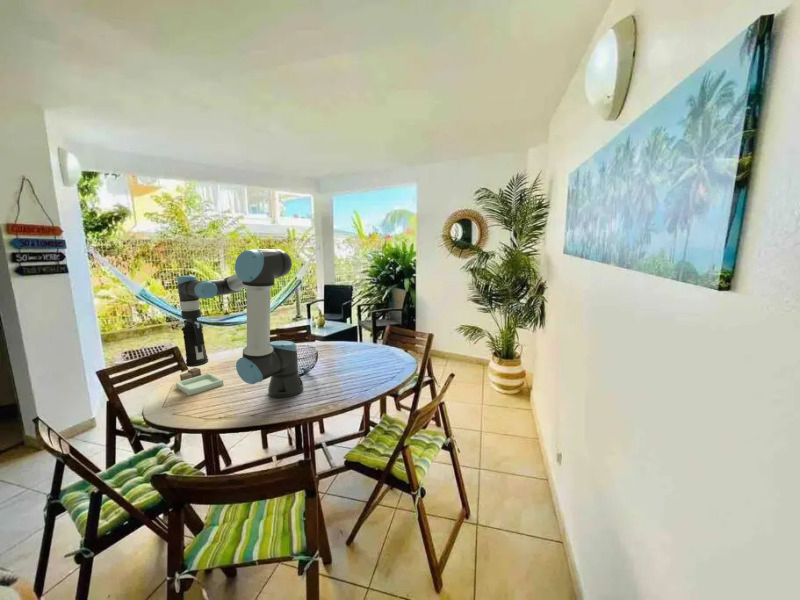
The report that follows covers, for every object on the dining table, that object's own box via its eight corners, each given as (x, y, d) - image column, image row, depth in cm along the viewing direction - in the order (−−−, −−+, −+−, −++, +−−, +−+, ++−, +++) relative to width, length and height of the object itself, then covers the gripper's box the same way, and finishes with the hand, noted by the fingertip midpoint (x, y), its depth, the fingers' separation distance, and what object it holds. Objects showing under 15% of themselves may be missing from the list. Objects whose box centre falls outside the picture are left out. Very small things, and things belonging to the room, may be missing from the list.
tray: (223, 384, 161) (223, 379, 160) (188, 396, 149) (188, 390, 149) (210, 377, 170) (209, 372, 170) (176, 387, 159) (176, 382, 158)
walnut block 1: (192, 381, 165) (192, 374, 165) (183, 384, 162) (182, 376, 162) (189, 379, 168) (188, 372, 167) (180, 382, 165) (179, 374, 164)
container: (212, 360, 162) (207, 324, 158) (199, 367, 153) (194, 329, 150) (195, 359, 163) (190, 324, 159) (181, 366, 154) (175, 329, 151)
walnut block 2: (201, 376, 172) (200, 368, 172) (193, 379, 169) (192, 371, 168) (195, 375, 174) (195, 367, 173) (188, 377, 170) (187, 370, 170)
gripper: (208, 310, 150) (214, 359, 154) (190, 305, 163) (196, 350, 166) (190, 313, 144) (196, 364, 148) (173, 308, 157) (179, 354, 161)
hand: (196, 356), depth 157 cm, fingers closed on container, 8 cm apart
